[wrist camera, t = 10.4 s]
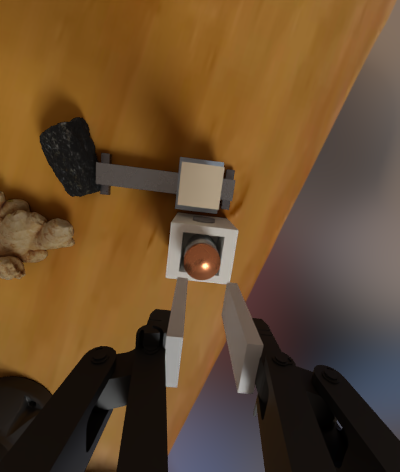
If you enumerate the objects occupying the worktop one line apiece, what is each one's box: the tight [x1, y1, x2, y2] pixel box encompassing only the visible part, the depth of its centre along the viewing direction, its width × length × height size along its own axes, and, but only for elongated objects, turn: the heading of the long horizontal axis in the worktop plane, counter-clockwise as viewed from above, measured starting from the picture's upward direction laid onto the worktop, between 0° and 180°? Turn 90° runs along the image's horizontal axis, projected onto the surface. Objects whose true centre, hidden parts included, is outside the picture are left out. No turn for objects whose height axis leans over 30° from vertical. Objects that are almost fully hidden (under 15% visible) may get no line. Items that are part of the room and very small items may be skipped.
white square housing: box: [166, 212, 238, 284], centre depth 32 cm, size 8×7×10 cm
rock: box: [40, 117, 101, 197], centre depth 31 cm, size 7×10×6 cm
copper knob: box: [184, 234, 221, 280], centre depth 27 cm, size 4×4×6 cm
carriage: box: [175, 157, 225, 214], centre depth 28 cm, size 6×7×13 cm
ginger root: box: [0, 191, 75, 280], centre depth 33 cm, size 16×16×8 cm
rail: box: [96, 153, 235, 210], centre depth 33 cm, size 20×6×2 cm, turn 83°
